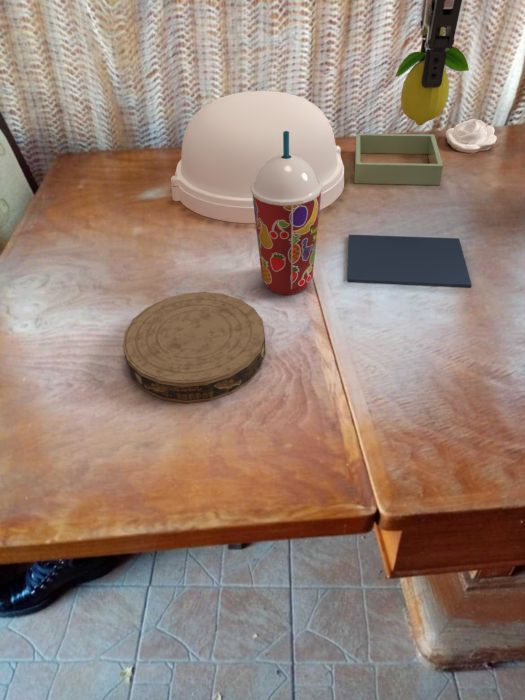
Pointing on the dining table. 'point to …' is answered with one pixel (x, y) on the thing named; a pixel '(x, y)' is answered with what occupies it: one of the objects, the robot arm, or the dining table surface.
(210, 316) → the wood slice
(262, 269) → the smoothie
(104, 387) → the dining table surface
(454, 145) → the rose
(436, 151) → the sage green tray
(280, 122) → the dome cover
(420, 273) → the mat
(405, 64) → the lemon
